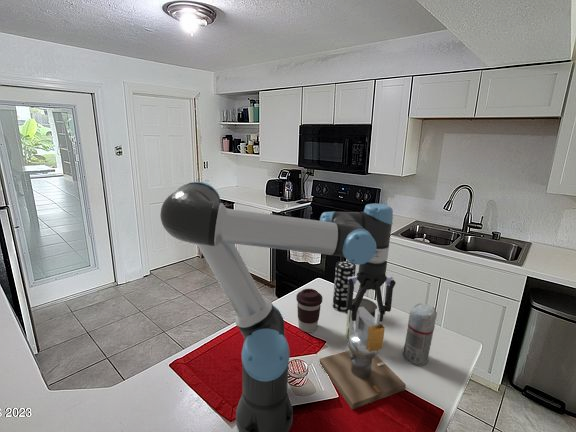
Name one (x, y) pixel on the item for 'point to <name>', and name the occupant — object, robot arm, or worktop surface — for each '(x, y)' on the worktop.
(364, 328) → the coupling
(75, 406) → the worktop surface
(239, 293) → the robot arm
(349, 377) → the base
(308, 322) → the coffee cup
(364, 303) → the coffee can
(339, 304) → the white-spotted black cylinder
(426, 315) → the spray can
